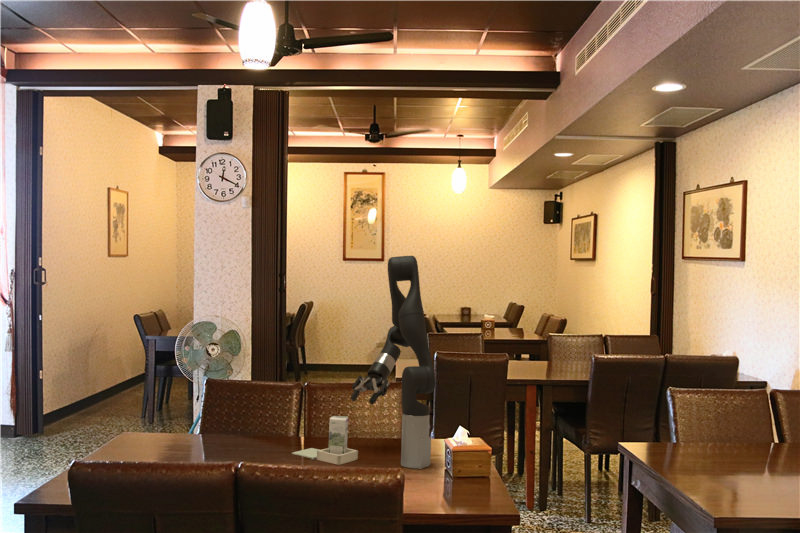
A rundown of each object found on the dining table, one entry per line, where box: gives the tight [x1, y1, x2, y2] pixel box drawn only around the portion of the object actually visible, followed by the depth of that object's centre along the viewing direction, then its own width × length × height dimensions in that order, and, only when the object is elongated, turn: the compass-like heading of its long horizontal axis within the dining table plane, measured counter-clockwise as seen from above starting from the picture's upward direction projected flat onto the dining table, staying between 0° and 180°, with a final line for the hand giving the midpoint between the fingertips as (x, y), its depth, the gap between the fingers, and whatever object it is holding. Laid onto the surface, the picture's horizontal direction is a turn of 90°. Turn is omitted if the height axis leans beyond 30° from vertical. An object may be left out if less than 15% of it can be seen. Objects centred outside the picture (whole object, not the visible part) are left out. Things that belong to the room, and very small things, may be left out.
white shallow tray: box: [291, 447, 359, 466], centre depth 215 cm, size 22×13×3 cm, turn 55°
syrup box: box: [327, 415, 349, 455], centre depth 212 cm, size 6×6×14 cm
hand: (361, 401), depth 222 cm, fingers open, 8 cm apart
